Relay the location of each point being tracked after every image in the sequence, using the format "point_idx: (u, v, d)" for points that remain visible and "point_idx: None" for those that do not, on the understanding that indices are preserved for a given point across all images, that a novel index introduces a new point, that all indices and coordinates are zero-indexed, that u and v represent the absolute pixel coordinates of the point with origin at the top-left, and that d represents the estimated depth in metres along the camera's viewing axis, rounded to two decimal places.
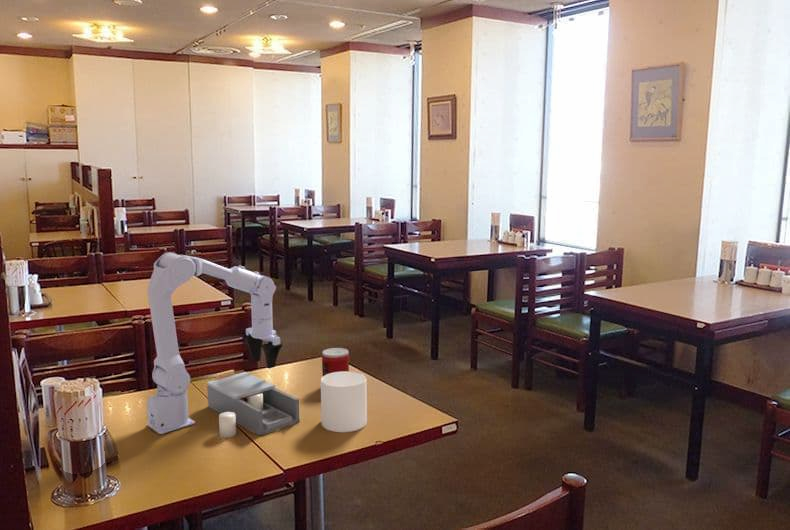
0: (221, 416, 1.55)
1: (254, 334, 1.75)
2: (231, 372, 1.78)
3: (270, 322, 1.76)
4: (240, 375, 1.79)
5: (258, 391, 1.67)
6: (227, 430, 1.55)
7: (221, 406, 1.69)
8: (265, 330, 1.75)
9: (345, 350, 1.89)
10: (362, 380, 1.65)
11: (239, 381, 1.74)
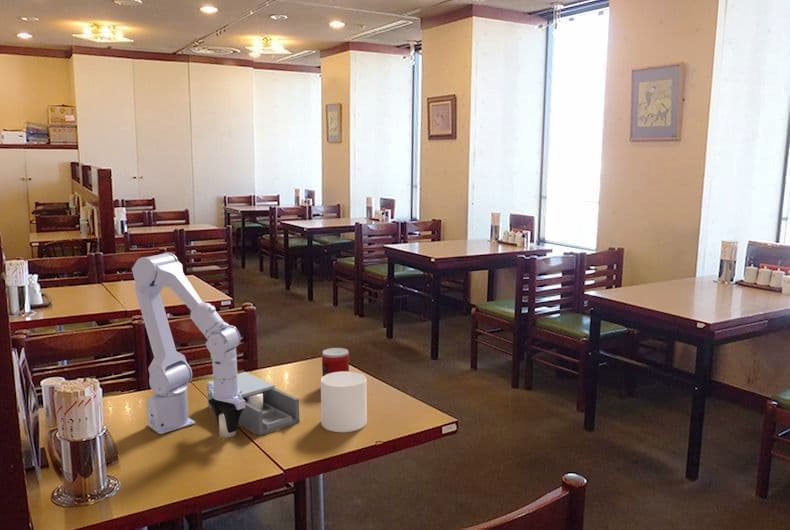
0: (221, 416, 1.55)
1: (216, 396, 1.53)
2: None
3: (234, 382, 1.54)
4: (240, 375, 1.79)
5: (258, 391, 1.67)
6: (227, 430, 1.55)
7: None
8: (228, 391, 1.53)
9: (345, 350, 1.89)
10: (362, 380, 1.65)
11: (239, 381, 1.74)
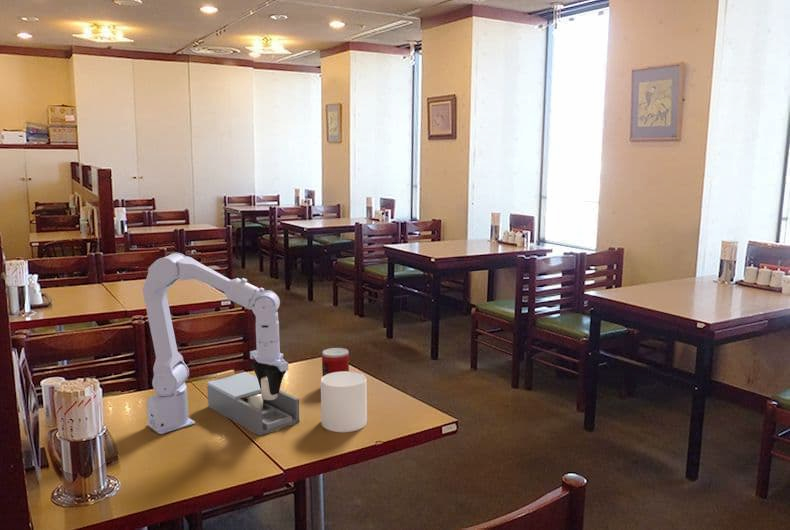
0: (263, 379, 1.60)
1: (259, 358, 1.57)
2: (231, 372, 1.78)
3: (277, 345, 1.58)
4: (240, 375, 1.79)
5: (258, 391, 1.67)
6: (269, 393, 1.59)
7: (221, 406, 1.69)
8: (271, 354, 1.57)
9: (345, 350, 1.89)
10: (362, 380, 1.65)
11: (239, 381, 1.74)
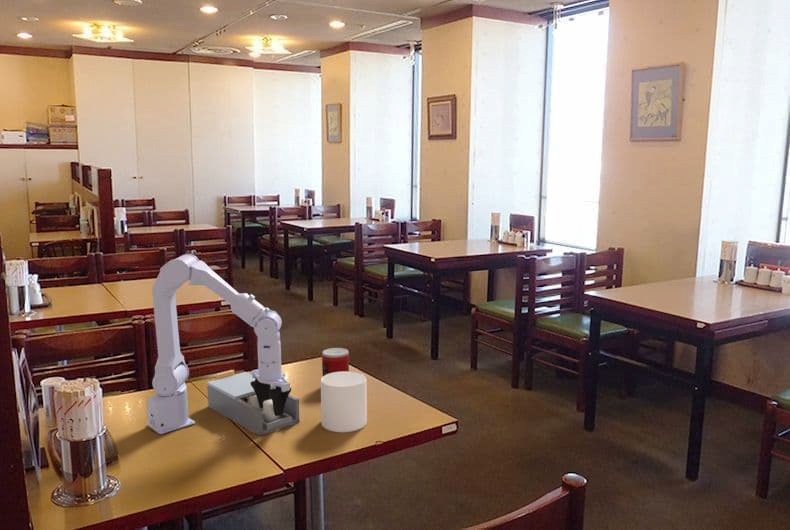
0: (265, 403, 1.61)
1: (261, 378, 1.58)
2: (231, 372, 1.78)
3: (278, 365, 1.59)
4: (240, 375, 1.79)
5: None
6: (271, 417, 1.60)
7: (221, 406, 1.69)
8: (273, 374, 1.58)
9: (345, 350, 1.89)
10: (362, 380, 1.65)
11: (239, 381, 1.74)
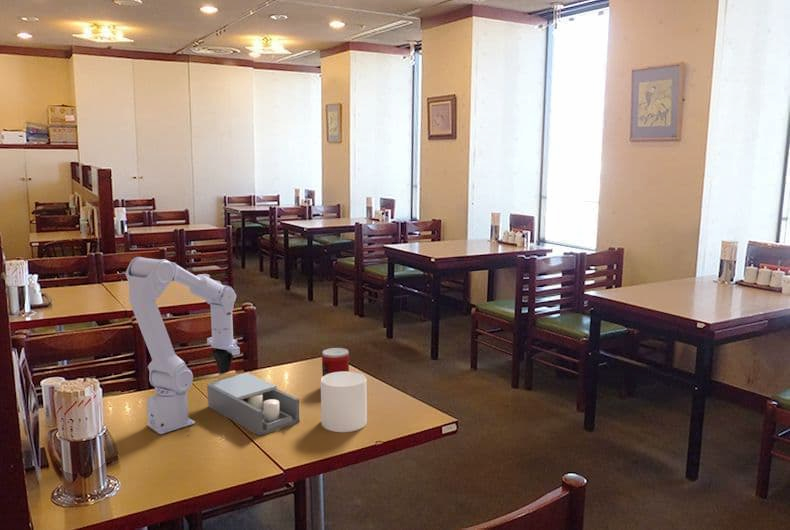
0: (266, 403, 1.61)
1: (214, 344, 1.74)
2: (233, 373, 1.78)
3: (230, 332, 1.75)
4: (241, 375, 1.78)
5: (260, 392, 1.67)
6: (272, 417, 1.60)
7: (221, 406, 1.69)
8: (224, 340, 1.74)
9: (345, 350, 1.89)
10: (362, 380, 1.65)
11: (240, 382, 1.73)
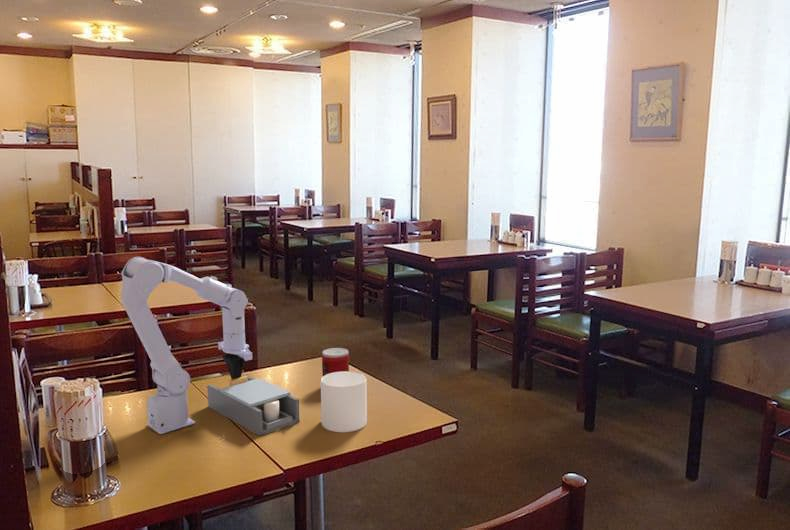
0: (266, 403, 1.61)
1: (225, 349, 1.70)
2: (244, 378, 1.73)
3: (242, 336, 1.70)
4: (253, 381, 1.74)
5: (273, 398, 1.62)
6: (272, 416, 1.61)
7: (221, 406, 1.69)
8: (237, 345, 1.69)
9: (345, 350, 1.89)
10: (362, 380, 1.65)
11: (253, 388, 1.69)
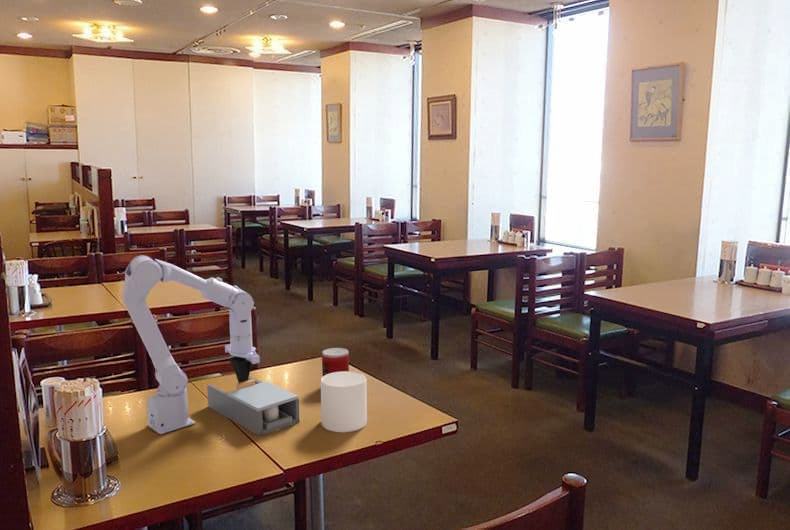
0: None
1: (232, 352, 1.67)
2: (252, 382, 1.71)
3: (249, 339, 1.68)
4: (261, 384, 1.71)
5: (281, 402, 1.60)
6: (273, 416, 1.61)
7: (221, 406, 1.69)
8: (244, 348, 1.67)
9: (345, 350, 1.89)
10: (362, 380, 1.65)
11: (260, 391, 1.66)
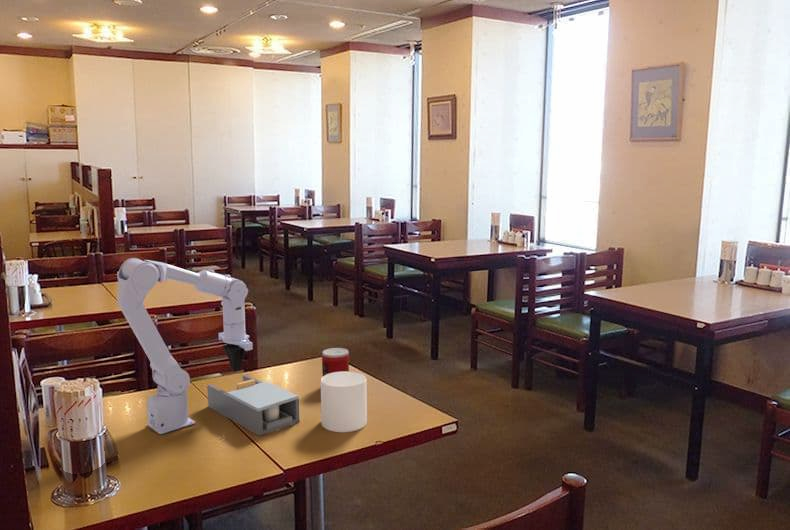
0: None
1: (226, 339, 1.69)
2: (252, 382, 1.71)
3: (242, 326, 1.70)
4: (261, 384, 1.71)
5: (281, 402, 1.60)
6: (274, 416, 1.61)
7: (221, 406, 1.69)
8: (237, 335, 1.69)
9: (345, 350, 1.89)
10: (362, 380, 1.65)
11: (260, 391, 1.66)
